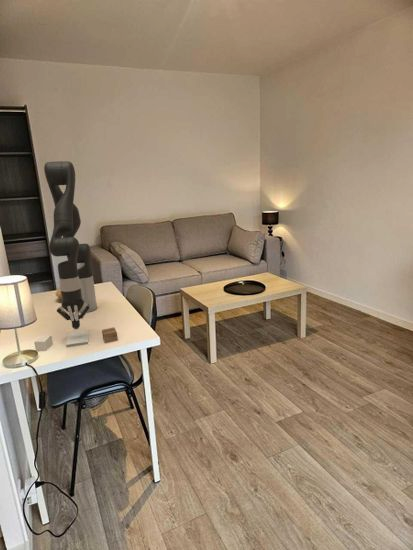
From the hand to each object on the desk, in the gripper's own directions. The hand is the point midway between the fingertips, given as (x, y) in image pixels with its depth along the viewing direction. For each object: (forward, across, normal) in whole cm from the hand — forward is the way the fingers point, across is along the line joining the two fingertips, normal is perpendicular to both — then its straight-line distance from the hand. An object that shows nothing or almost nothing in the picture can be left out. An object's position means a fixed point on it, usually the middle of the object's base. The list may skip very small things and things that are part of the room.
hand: (76, 328), depth 147 cm
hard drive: (+5, 0, 0) cm, 5 cm away
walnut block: (+5, -13, +4) cm, 15 cm away
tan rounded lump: (+6, +8, -58) cm, 59 cm away
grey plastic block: (+5, +12, +4) cm, 14 cm away
